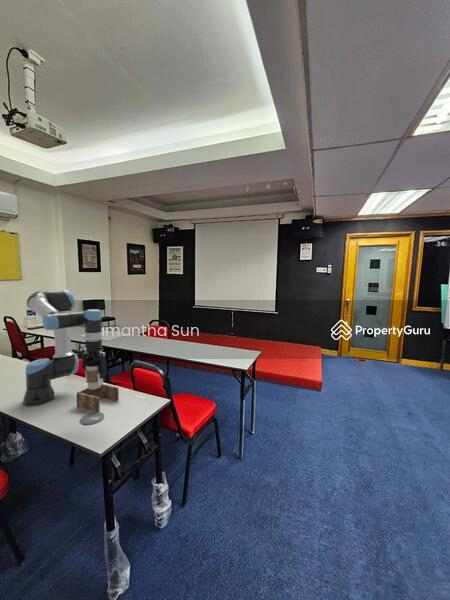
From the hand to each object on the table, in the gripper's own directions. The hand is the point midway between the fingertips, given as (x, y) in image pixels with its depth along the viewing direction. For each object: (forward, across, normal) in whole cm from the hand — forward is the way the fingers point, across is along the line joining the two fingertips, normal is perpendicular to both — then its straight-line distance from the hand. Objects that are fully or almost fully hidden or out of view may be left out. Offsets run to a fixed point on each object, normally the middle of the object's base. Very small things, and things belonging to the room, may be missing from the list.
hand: (94, 382), depth 133 cm
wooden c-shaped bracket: (+19, -10, +12) cm, 25 cm away
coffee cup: (+2, 0, 0) cm, 2 cm away
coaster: (+19, 0, -2) cm, 19 cm away
